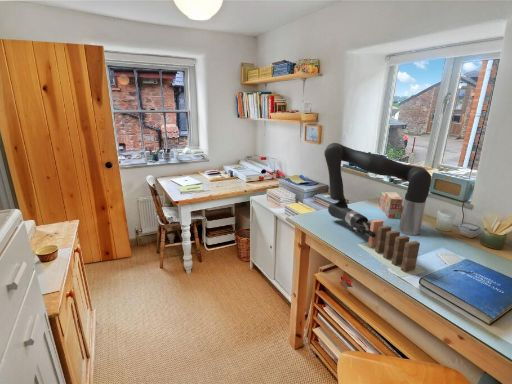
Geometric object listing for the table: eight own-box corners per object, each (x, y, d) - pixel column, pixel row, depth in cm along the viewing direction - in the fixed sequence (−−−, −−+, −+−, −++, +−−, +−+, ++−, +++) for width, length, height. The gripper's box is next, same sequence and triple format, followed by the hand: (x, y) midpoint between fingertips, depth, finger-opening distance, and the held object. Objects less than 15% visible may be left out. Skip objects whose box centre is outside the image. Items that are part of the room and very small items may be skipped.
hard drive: (474, 270, 111) (455, 253, 123) (452, 269, 112) (436, 253, 123) (473, 273, 111) (454, 257, 123) (451, 272, 112) (435, 256, 124)
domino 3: (391, 263, 117) (395, 236, 113) (401, 261, 118) (405, 235, 115) (395, 265, 115) (399, 239, 112) (405, 263, 117) (409, 237, 113)
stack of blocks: (378, 205, 183) (381, 187, 179) (389, 206, 182) (391, 187, 178) (388, 218, 163) (391, 198, 159) (399, 219, 162) (403, 198, 158)
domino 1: (375, 251, 126) (378, 226, 122) (384, 249, 128) (388, 225, 124) (378, 253, 124) (381, 228, 121) (387, 251, 126) (391, 227, 122)
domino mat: (357, 245, 133) (357, 244, 132) (378, 241, 136) (378, 240, 136) (400, 277, 108) (401, 276, 108) (425, 272, 111) (425, 271, 111)
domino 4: (400, 269, 112) (405, 242, 109) (410, 267, 114) (415, 240, 110) (404, 272, 111) (409, 245, 107) (414, 270, 112) (420, 243, 108)
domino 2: (382, 257, 122) (386, 231, 118) (392, 255, 123) (396, 230, 119) (386, 259, 120) (390, 233, 116) (396, 257, 121) (400, 232, 117)
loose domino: (368, 244, 130) (371, 220, 127) (377, 243, 132) (380, 219, 128) (370, 246, 129) (374, 222, 125) (380, 245, 130) (383, 220, 126)
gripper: (344, 214, 138) (367, 229, 123) (369, 211, 142) (394, 225, 127) (343, 228, 140) (365, 244, 125) (367, 225, 144) (391, 240, 129)
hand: (379, 234), depth 126 cm, fingers closed on loose domino, 4 cm apart
